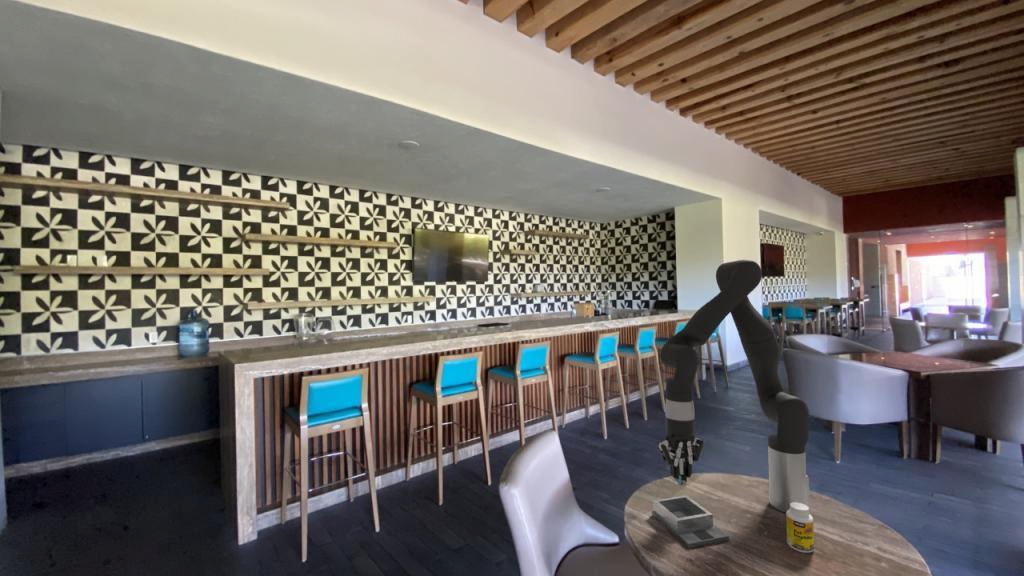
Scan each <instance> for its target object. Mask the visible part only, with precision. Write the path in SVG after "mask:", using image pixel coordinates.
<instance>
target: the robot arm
mask: <svg viewBox="0 0 1024 576" xmlns="http://www.w3.org/2000/svg"><path fill="white" fill-rule="evenodd" d="M762 279H763V271H762V268H761V266H760V265H759V263H758V262H756V261H755V260H753V259H739V260H733V261H727V262H725V263H721V264H720V265H719V266H718V267H717V269H716V272H715V280H716V284H717V287H718V288H719V291H720V292H719V293H718V294H717V295H715V296H714V297H713V298H712V299H710V300H709V301H707V302H706V303H705V304H704V305H702V306H701V307H700V308H699V309H698V310H697V311H696V312H695V313H694V314H693V315H692V316H691V317H690V319H689V320H688V322H687V323H686V324H685V325H684V326H683V328H682V329H681V330H679V331H678V332H676V333H675V334H674V335H673V336H672V337H671V338H669V339H668V340H667V341H666V342H665V343H664V344H663V346H662V348H661V350H660V353H659V359H660V362H661V363H662V364H663V365H664V366H666V367H668V368H671V369H674V371H675V372H674V376H671V377H668V378H667V379H666V381H665V396H666V397H665V405H664V406H665V413H664V414H665V430H666V436H665V440H663V441H662V442H661V441H658V442H657V443H656V445H657V449H658V450H659V453H660V455H661V459H662V460H663V462H665V463H666V464H668V465H669V469H670V470H669V471H670V472H669V473H670V476H671V477H672V478H673V479H674V478H675V479H679V466H677V465H678V460H679V458H680V455H681V451H684V452H688V457H687V458H685V459H683V466H684V469H685V475H686V476H687V478H691V477H692V474H693V468H692V467H693V463H694V462H698V461H699V458H700V455H701V452H702V448H703V446H704V441H703V439H701V438H698V437H696V436H695V435H694V434H695V430H696V428H695V427H696V425H695V423H696V422H695V406H694V405H695V404H694V388H693V385H694V383H695V378H696V375H697V371H698V366H699V357H698V354H697V352H696V349H694V348H696V347H702V346H704V345H705V344H706V343H707V342H708V340H709V339H710V338H711V337H712V335H713V334H714V332H715V331H716V330H717V328H718V327H719V326H720V324H721V323H722V322H723V321H724V320H725V319H726V318H727V317H728V315H729V314H731V318H732V320H733V322H734V325H735V327H736V331H737V334H738V336H739V340H740V342H741V346H742V349H743V352H744V354H745V356H746V358H747V362H748V365H749V367H750V370H751V373H752V377H753V380H754V383H755V386H756V392H757V396H758V400H759V404H760V407H761V411H762V413H763V414H764V415H765V417H766V418H768V420H770V421H773V422H774V423H776V424H777V427H776V428H777V431H776V433H771V434H770V435H769V436H768V437H767V448H768V449H767V452H768V453H767V455H768V456H767V457H768V484H769V485H768V487H769V489H768V490H769V492H768V493H769V504H770V506H772V507H773V508H774V509H776V510H779V511H781V512H783V513H786V512H787V510H789V509H790V503H792V502H797V503H801V504H804V505H806V506H808V507H809V510H810V505H811V503H810V478H809V476H808V475H807V465H806V463H807V462H806V459H807V458H806V456H807V455H806V446H807V444H808V443H809V442H808V441H809V434H810V433H809V432H810V431H809V430H810V413H809V408H808V405H807V404H806V402H805V401H804V400H803V399H801V398H800V397H798V396H794V395H791V394H788V393H786V392H785V389H784V388H783V385H782V383H781V380H780V378H779V377H780V376H779V373H778V371H779V365H780V358H781V348H780V344H779V342H778V339H777V336H776V333H775V330H774V328H773V326H772V325H771V324H770V323H769V321H767V319H766V318H765V317H764V316H763V315H762V313H760V312H759V311H758V310H757V309H756V308H755V306H753V304H752V302H751V300H750V298H749V297H748V296H749V295H750V294H751V293H752V292H753V291H754V290H755V289H756V288H757V287H759V284H760V283H761V281H762ZM668 446H669V447H668ZM669 450H672V451H674V452H676V454H673V453H671V452H670V451H669ZM672 456H674V457H672ZM675 479H674V480H675Z"/></svg>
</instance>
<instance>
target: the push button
mask: <svg viewBox="0 0 1024 576" xmlns="http://www.w3.org/2000/svg"><path fill="white" fill-rule="evenodd" d="M669 451H670V452H671V453H673V454H676V452H674V451H672V450H669V449H668V452H669ZM672 457H674V456H672ZM687 457H688V452H684V451H681V455H680V458H679V460H678V465H677V466H679V479H675V478H673V481H674V483H677V485H678V486H681V487H683V488H686V487H687V482H688V477H687V476H686V475H685V469H684V466H683V462H684V459H685V458H687Z"/></svg>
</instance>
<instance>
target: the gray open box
mask: <svg viewBox="0 0 1024 576" xmlns="http://www.w3.org/2000/svg"><path fill="white" fill-rule="evenodd" d="M652 505H653V508H652V510H651V516H652V517H653V518H654V519H655V520H657V521H658V522H659V524H660V525H662V526H663V527H664V528H665V529H666V530H668V531H669V533H670V534H672V535H673V537H675V538H676V539H677V540H679V542H681V543H682V544H683V545H684V546H685V548H687V549H690V550H691V549H694V548H699V547H704V546H708V545H714V544H719V543H723V542H729V540H730V536H729V535H728V534H727V533H725V532H724V531H723V530H722V529H720V528H719V527H717V526H716V525H715V524H714V514H713V513H711V512H710V511H709V510H707V509H706V508H705V507H703V506H701V504H699V503H697V502H696V501H695V500H693V499H692V498H691V497H690V496H688V495H679V496H672V497H667V498H659V499H655V500H652Z"/></svg>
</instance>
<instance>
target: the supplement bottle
mask: <svg viewBox="0 0 1024 576" xmlns="http://www.w3.org/2000/svg"><path fill="white" fill-rule="evenodd" d="M785 513H786V519H785V520H786V521H785V522H786V543H787V544H788V546H789V547H790V548H791V549H792V550H795V551H798V552H800V553H804V554H805V553H806V554H808V553H812V552H814V550H815V540H814V539H815V537H814V529H815V528H814V517H813V516H812V515H811V513H810V509H809V507H808V506H806V505H804V504H801V503H797V502H792V503H790V509H789V510H787V512H785Z"/></svg>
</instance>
